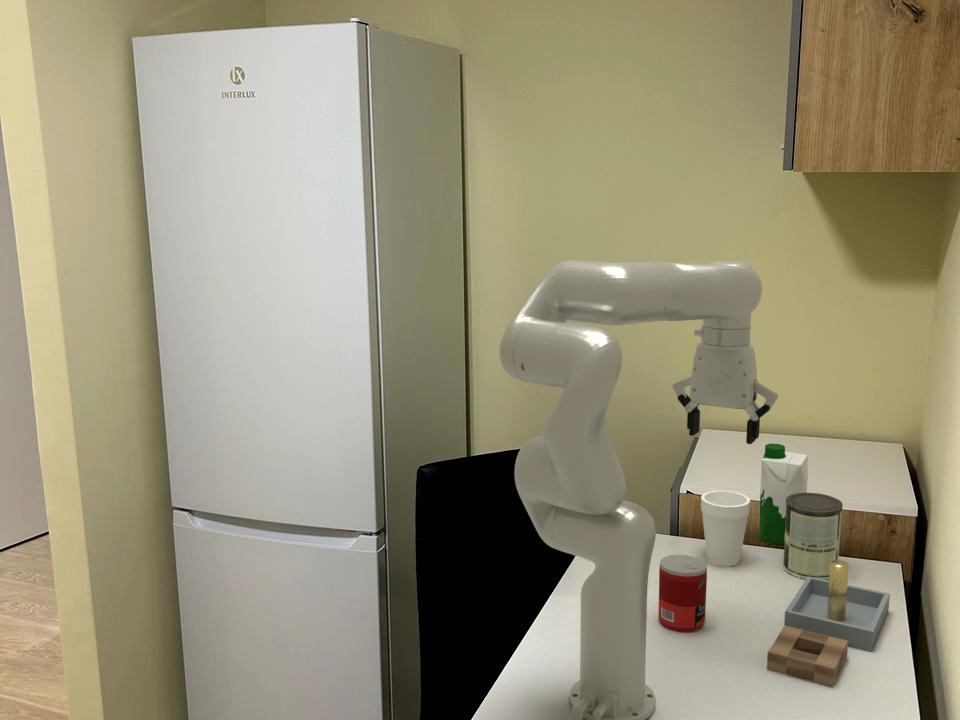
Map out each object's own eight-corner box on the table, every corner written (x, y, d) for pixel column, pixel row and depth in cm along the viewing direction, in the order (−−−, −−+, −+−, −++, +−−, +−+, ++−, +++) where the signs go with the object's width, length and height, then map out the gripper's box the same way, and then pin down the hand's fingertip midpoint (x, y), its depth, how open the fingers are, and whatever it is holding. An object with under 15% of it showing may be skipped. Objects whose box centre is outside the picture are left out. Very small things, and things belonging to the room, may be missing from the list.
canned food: (705, 634, 158) (707, 574, 156) (657, 631, 160) (659, 571, 157) (704, 613, 165) (706, 555, 163) (658, 610, 167) (659, 552, 165)
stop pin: (843, 623, 160) (846, 568, 158) (825, 619, 162) (828, 565, 159) (847, 616, 162) (850, 562, 160) (829, 611, 164) (832, 558, 162)
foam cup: (691, 552, 191) (693, 492, 189) (734, 548, 193) (736, 488, 190) (711, 571, 182) (713, 508, 180) (755, 567, 184) (758, 505, 181)
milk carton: (763, 527, 204) (768, 439, 200) (807, 534, 200) (812, 444, 195) (754, 541, 196) (758, 450, 192) (799, 549, 192) (804, 456, 188)
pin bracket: (833, 687, 142) (834, 669, 141) (767, 669, 147) (767, 651, 146) (847, 657, 150) (848, 640, 149) (783, 641, 155) (784, 625, 155)
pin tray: (871, 651, 152) (873, 631, 151) (784, 630, 159) (785, 611, 158) (888, 611, 165) (889, 593, 164) (806, 593, 172) (807, 576, 172)
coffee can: (772, 562, 186) (775, 495, 183) (817, 556, 189) (821, 489, 186) (802, 584, 176) (806, 513, 173) (849, 577, 179) (854, 507, 176)
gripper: (667, 336, 154) (664, 436, 157) (773, 345, 144) (768, 451, 148) (683, 329, 160) (680, 425, 163) (786, 337, 151) (780, 439, 154)
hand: (722, 437), depth 156 cm, fingers open, 9 cm apart
